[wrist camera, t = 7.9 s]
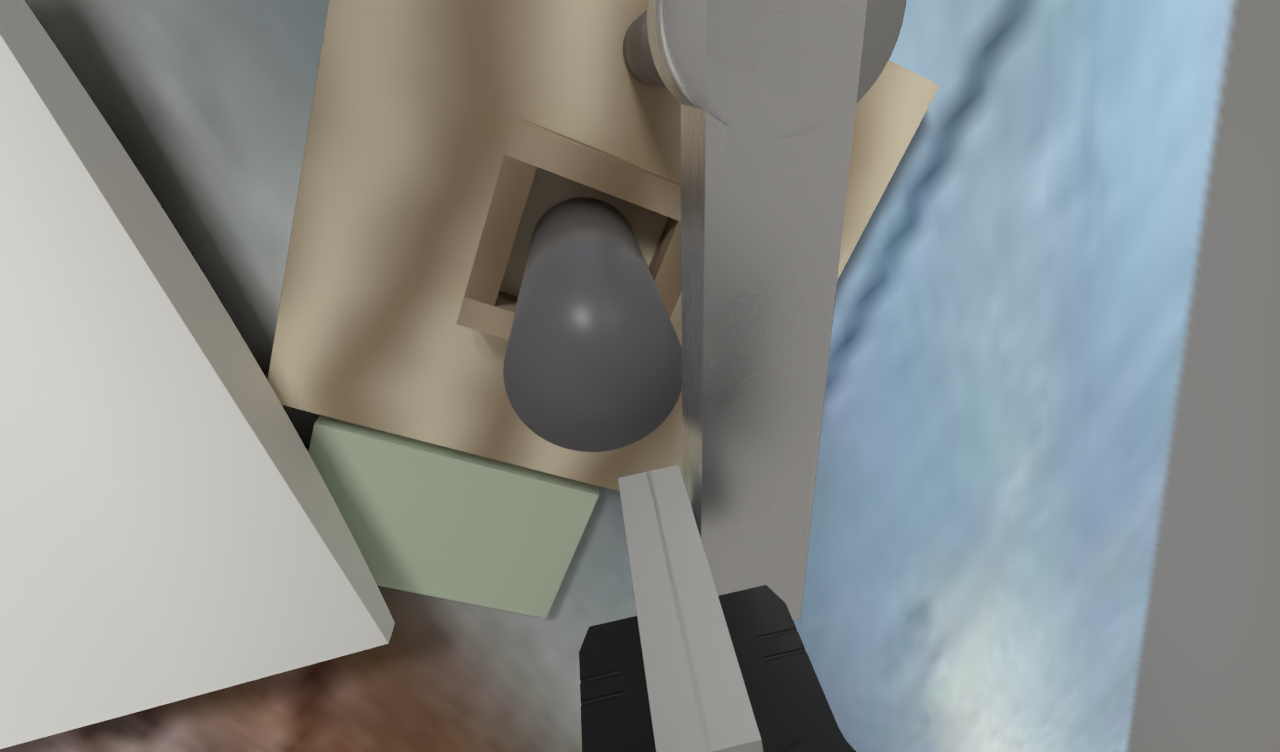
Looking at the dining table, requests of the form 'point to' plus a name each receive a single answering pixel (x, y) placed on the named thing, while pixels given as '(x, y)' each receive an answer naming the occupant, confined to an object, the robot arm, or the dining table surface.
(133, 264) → the board
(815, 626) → the dining table surface
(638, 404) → the peg
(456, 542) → the pad
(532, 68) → the socket plate
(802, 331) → the latch
